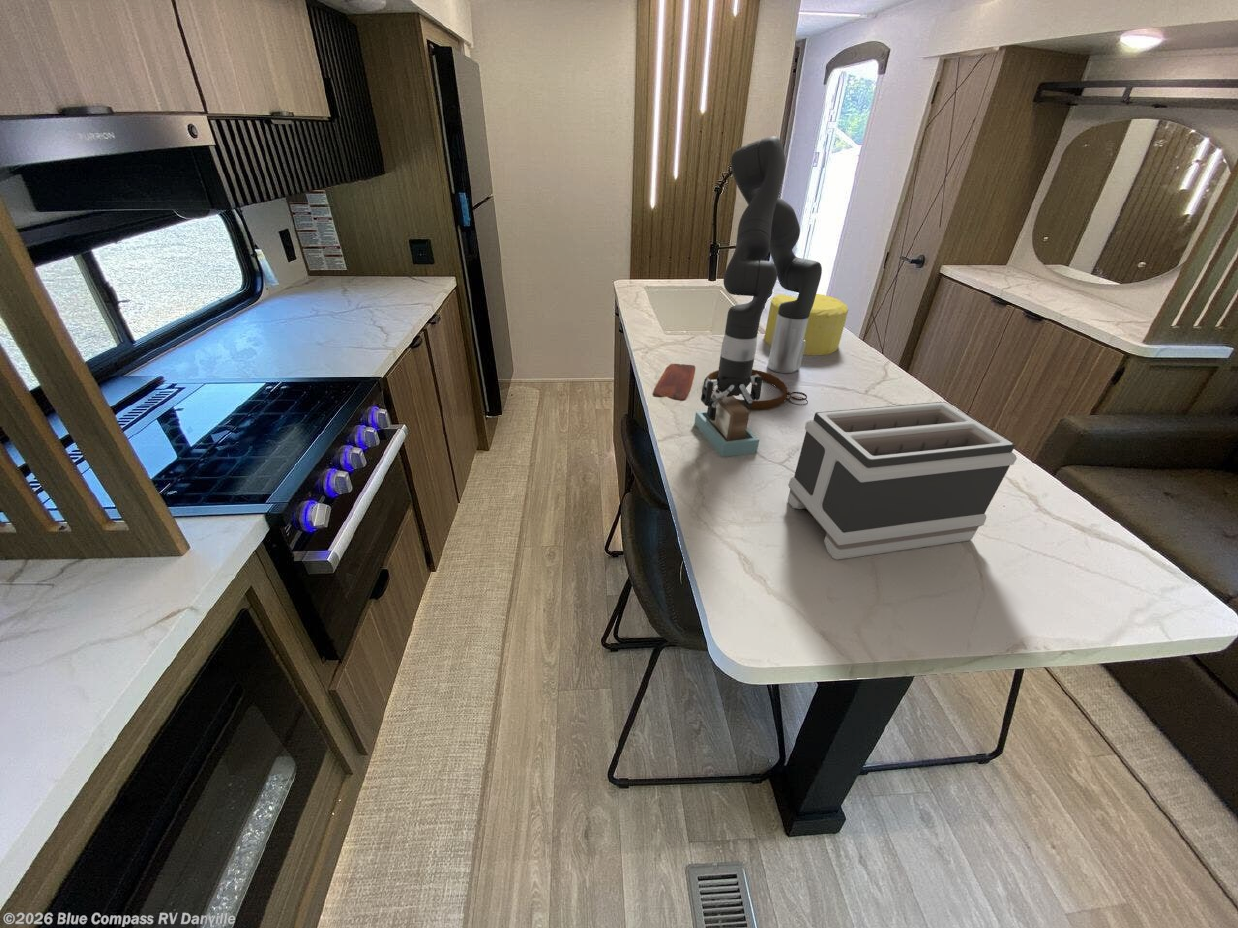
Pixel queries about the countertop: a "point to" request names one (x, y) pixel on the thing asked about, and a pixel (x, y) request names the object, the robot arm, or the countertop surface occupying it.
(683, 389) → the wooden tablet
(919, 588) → the countertop surface
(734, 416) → the picture frame
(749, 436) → the light blue rectangular tray
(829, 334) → the cheese
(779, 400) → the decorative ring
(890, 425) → the toaster
